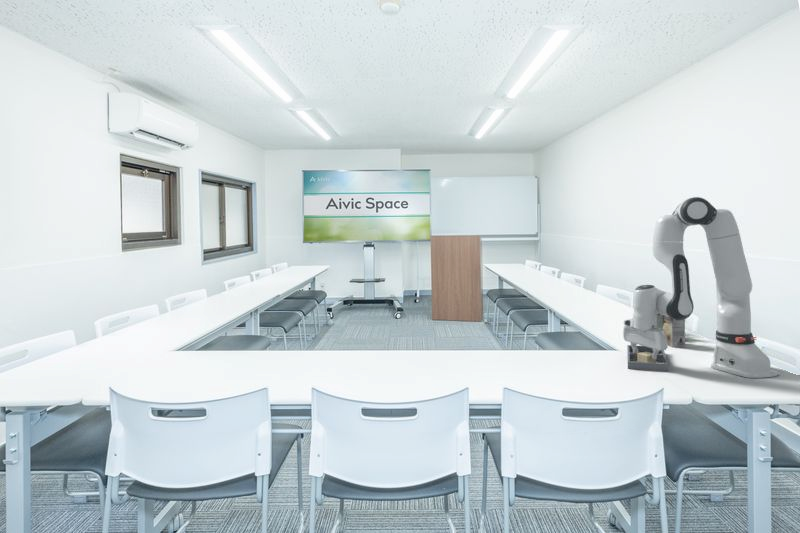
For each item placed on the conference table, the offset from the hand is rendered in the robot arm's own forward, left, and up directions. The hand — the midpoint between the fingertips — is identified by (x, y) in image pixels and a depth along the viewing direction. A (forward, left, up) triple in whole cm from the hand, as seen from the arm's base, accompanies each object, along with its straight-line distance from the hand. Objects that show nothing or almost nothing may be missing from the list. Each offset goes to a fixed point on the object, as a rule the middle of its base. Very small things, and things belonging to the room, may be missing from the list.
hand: (644, 355), depth 197 cm
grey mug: (+53, -41, -4) cm, 67 cm away
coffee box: (+26, -31, -4) cm, 40 cm away
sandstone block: (-1, 0, -4) cm, 4 cm away
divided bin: (+5, -4, -4) cm, 7 cm away
